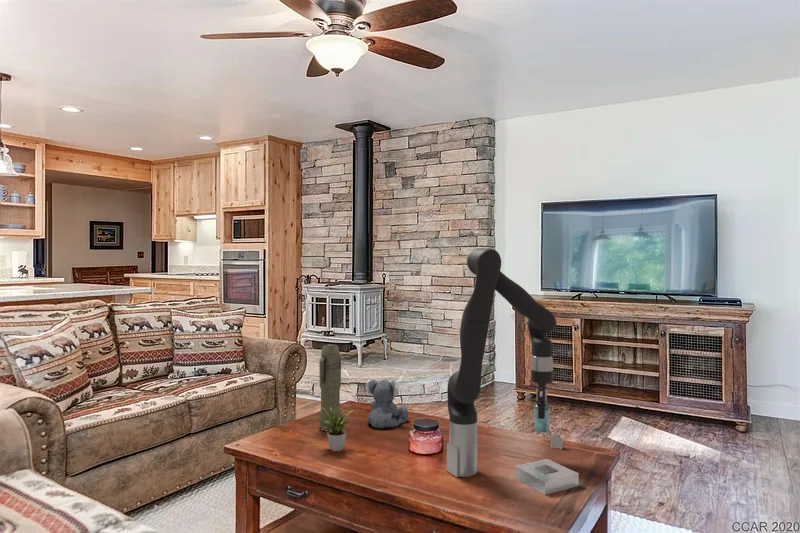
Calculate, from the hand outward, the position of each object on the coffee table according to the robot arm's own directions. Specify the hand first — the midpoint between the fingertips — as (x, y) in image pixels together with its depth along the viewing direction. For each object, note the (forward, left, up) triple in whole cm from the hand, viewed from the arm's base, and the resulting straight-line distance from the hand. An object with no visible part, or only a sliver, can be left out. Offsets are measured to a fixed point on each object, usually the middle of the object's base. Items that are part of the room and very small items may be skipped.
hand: (541, 415), depth 189 cm
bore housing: (-11, -14, -16) cm, 24 cm away
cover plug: (0, 0, -5) cm, 5 cm away
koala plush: (-30, +64, -16) cm, 73 cm away
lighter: (+14, +9, -16) cm, 23 cm away
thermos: (-53, +69, -16) cm, 89 cm away
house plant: (-61, +45, -16) cm, 78 cm away
